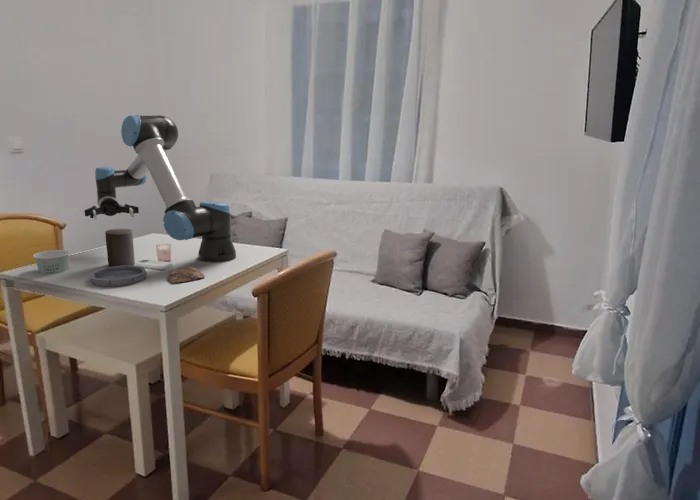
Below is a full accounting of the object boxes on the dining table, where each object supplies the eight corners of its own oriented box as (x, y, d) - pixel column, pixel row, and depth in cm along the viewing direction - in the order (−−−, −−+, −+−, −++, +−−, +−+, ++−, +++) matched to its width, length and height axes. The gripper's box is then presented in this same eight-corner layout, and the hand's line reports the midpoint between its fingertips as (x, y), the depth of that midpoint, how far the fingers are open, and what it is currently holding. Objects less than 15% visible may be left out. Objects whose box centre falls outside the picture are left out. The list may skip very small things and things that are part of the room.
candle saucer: (156, 274, 190) (156, 268, 190) (123, 289, 173) (122, 282, 173) (115, 269, 195) (115, 263, 194) (79, 283, 178) (78, 277, 178)
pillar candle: (105, 269, 195) (102, 230, 192) (111, 262, 205) (107, 225, 201) (133, 268, 198) (130, 230, 194) (137, 261, 207) (134, 224, 203)
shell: (162, 277, 188) (161, 268, 187) (196, 272, 195) (195, 262, 194) (171, 285, 179) (171, 276, 178) (207, 279, 186) (206, 270, 185)
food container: (35, 277, 185) (33, 259, 183) (34, 269, 195) (31, 252, 193) (73, 272, 191) (71, 255, 190) (70, 264, 201) (67, 248, 199)
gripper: (140, 212, 230) (148, 221, 212) (77, 216, 218) (80, 226, 200) (139, 195, 228) (146, 203, 210) (75, 199, 216) (77, 207, 198)
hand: (114, 215), depth 205 cm, fingers open, 13 cm apart
